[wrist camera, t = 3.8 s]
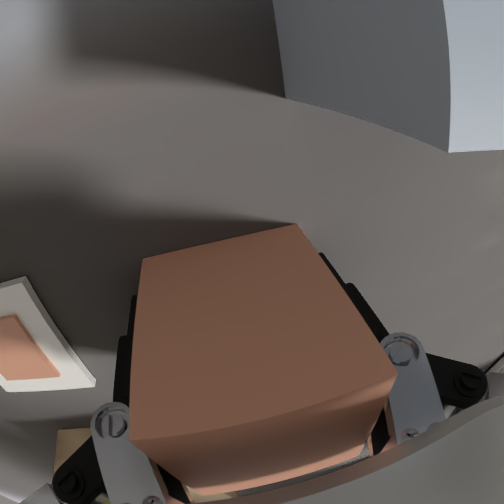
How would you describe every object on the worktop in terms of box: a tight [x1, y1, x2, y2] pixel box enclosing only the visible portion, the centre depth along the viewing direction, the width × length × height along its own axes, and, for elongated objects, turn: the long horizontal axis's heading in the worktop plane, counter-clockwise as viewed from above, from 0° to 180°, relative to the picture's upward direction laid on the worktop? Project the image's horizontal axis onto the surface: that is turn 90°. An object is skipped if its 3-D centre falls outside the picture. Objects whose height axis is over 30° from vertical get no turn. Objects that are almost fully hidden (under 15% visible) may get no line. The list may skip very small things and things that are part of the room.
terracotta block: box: [129, 224, 398, 496], centre depth 9 cm, size 5×5×6 cm
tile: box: [0, 276, 96, 392], centre depth 10 cm, size 6×6×1 cm
